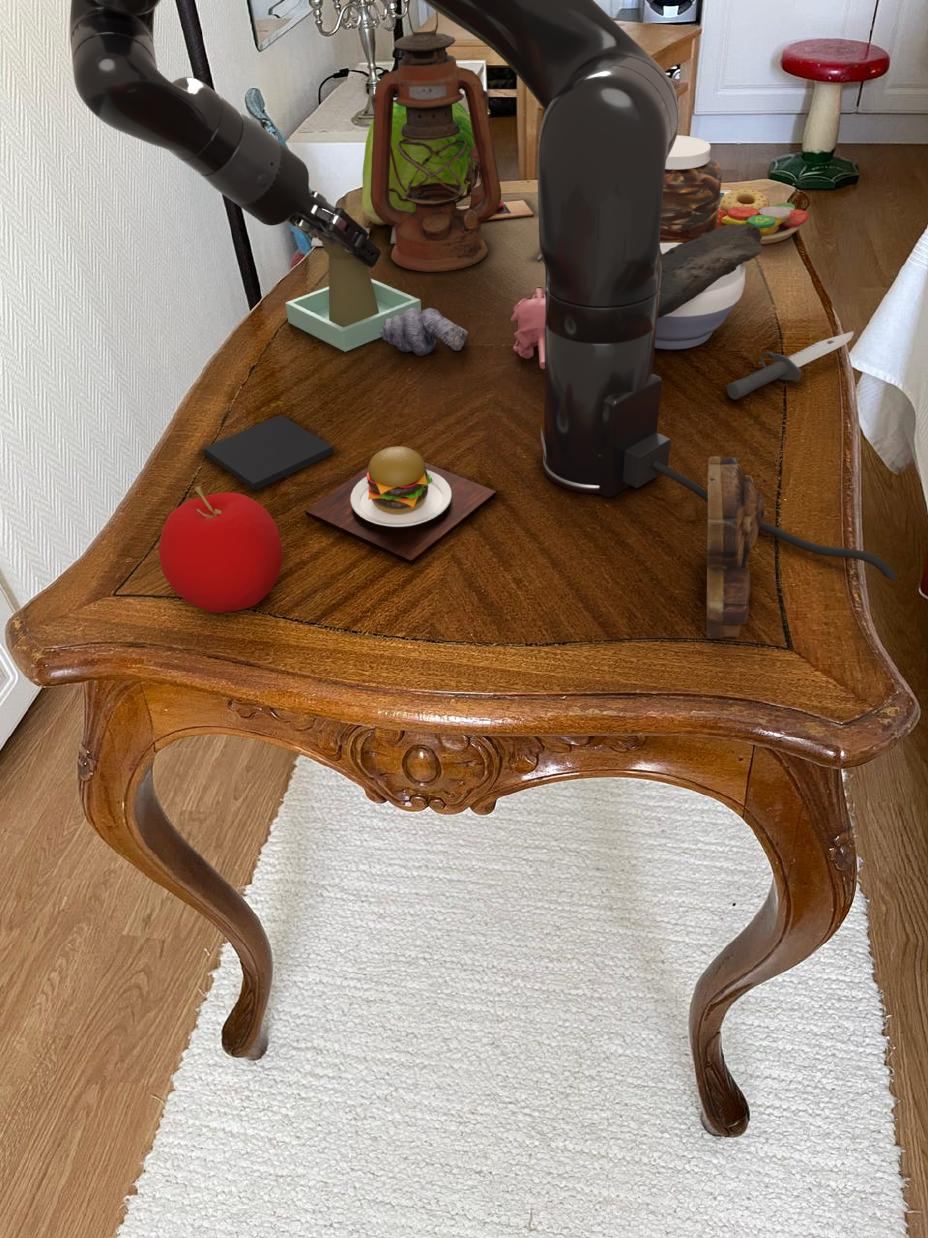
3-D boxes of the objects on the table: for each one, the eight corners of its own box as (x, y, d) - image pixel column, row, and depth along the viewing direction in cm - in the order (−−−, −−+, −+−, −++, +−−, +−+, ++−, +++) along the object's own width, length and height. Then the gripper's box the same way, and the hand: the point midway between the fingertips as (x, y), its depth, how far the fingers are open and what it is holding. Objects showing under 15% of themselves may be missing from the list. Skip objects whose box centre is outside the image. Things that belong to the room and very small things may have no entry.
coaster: (334, 453, 95) (332, 446, 94) (255, 491, 90) (253, 483, 90) (281, 420, 100) (280, 413, 99) (204, 454, 95) (203, 447, 95)
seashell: (470, 358, 111) (383, 361, 112) (469, 310, 111) (382, 314, 112) (466, 348, 106) (374, 351, 107) (465, 297, 105) (373, 301, 106)
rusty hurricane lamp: (372, 273, 127) (342, 4, 108) (380, 237, 137) (355, -16, 117) (502, 269, 126) (497, -4, 107) (502, 232, 136) (496, -24, 116)
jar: (722, 262, 125) (739, 135, 115) (694, 297, 118) (709, 165, 108) (635, 250, 130) (643, 127, 120) (602, 283, 122) (608, 155, 112)
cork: (372, 329, 114) (361, 233, 107) (322, 326, 115) (308, 232, 108) (385, 307, 118) (376, 214, 111) (337, 305, 119) (325, 212, 112)
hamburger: (496, 495, 88) (496, 442, 84) (411, 564, 81) (407, 510, 77) (393, 453, 93) (389, 402, 90) (305, 514, 86) (297, 462, 83)
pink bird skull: (591, 397, 101) (611, 332, 98) (524, 385, 99) (542, 319, 95) (532, 324, 121) (547, 268, 118) (476, 313, 119) (489, 256, 116)
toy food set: (734, 207, 140) (737, 183, 138) (820, 226, 133) (825, 201, 131) (682, 234, 133) (684, 209, 131) (770, 254, 126) (774, 228, 124)
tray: (422, 319, 116) (420, 299, 115) (345, 351, 111) (342, 331, 109) (363, 293, 123) (361, 273, 121) (288, 322, 118) (285, 302, 116)
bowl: (635, 298, 118) (639, 234, 113) (754, 319, 112) (764, 253, 107) (584, 348, 108) (586, 281, 103) (711, 374, 103) (720, 304, 98)
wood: (591, 293, 98) (593, 321, 100) (652, 311, 94) (652, 340, 96) (720, 208, 108) (719, 235, 110) (780, 222, 103) (778, 250, 106)
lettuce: (399, 222, 130) (438, 274, 146) (487, 90, 127) (517, 158, 143) (306, 163, 134) (353, 220, 150) (389, 35, 132) (428, 106, 148)
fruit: (279, 550, 83) (258, 447, 77) (299, 615, 77) (277, 509, 70) (169, 574, 81) (137, 471, 75) (180, 643, 75) (146, 537, 68)
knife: (869, 350, 105) (831, 332, 108) (875, 329, 104) (836, 312, 107) (747, 411, 97) (710, 390, 100) (751, 390, 96) (713, 370, 99)
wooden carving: (763, 665, 70) (786, 553, 64) (697, 662, 71) (714, 551, 64) (741, 529, 82) (759, 424, 76) (685, 527, 83) (698, 423, 76)
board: (443, 209, 144) (443, 198, 143) (523, 201, 146) (523, 191, 145) (451, 223, 140) (450, 212, 139) (533, 215, 141) (533, 204, 140)
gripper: (310, 147, 95) (415, 238, 108) (231, 121, 103) (338, 209, 117) (273, 218, 96) (382, 299, 109) (198, 187, 104) (308, 266, 118)
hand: (359, 252), depth 113 cm, fingers closed on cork, 5 cm apart
